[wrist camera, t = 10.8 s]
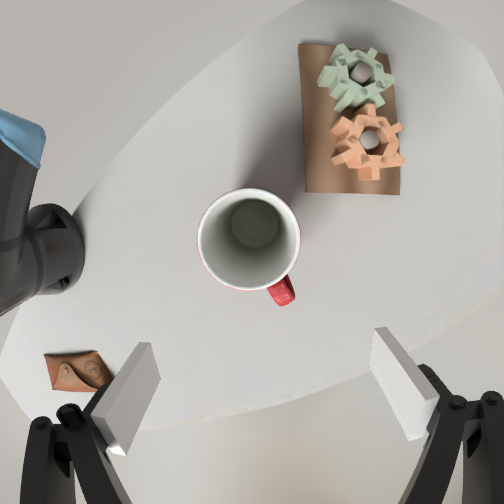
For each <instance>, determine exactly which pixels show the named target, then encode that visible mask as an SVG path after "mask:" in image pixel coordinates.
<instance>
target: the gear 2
mask: <svg viewBox="0 0 504 504" xmlns="http://www.w3.org/2000/svg"><path fill="white" fill-rule="evenodd" d="M354 114H355V117H354V118H353V119H351V120H348V119H347V118H345V117H343V116H342V117H341V118H339V119H338V120H337V121H336V122H335V123H334V124H333V125H332V126H331V128H330V130H329V131H330V132H332V133H333V134H335V135H337V136H338V137H339V138H338V140H337V142H336V144H335V146H336V147H337V149H338V151H339V152H340V153H339V154H338V155H336V156H334V157H332V158H331V160H332V162H333V164H334V165H338V164H341V163H344V162H346V164H347V166H348V168H355V169H358V180H380V172H379V169H380V168H388V167H396V166H403V164H404V162H405V160H406V158H404V157H403V156H402V155H400V154H399V153H397V152H396V151H397V149H398V147H399V145H400V142H399V140H398V138H397V137H396V135H395V134H396V133H398V132H400V131H401V130H403V129H404V128H403V127H402V125H401V123H400V122H398V123H396V124H394V125H391V126H390V124H389V123H388V121H387V119H386V118H385V117H378V116H376V111H375V104H366V105H364V106H363V107H362V108H360V109H359V110H358V111H357V112H355V113H354ZM367 130H372V131H374V132H376V133H377V135H378V137H379V144H378V145H377V146H376V147H374V148H373V150H372V152H371V154H370V155H367V154H366V152H365V150H364V148H363V147H362V145H361V143H360V142H359V140H358V139H359V137H360V135H361V133H363V132H365V131H367Z"/></svg>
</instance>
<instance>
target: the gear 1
mask: <svg viewBox="0 0 504 504" xmlns="http://www.w3.org/2000/svg"><path fill="white" fill-rule="evenodd" d="M377 52H378V51H376V50H375V49H373V48H372V47H371V48H370V49H369V50H368V51H367V53H366V54H365V53H363V52H362V51H360V50H358V49H357V50H355V51H352V52H350V51H349V50H348V48H347V47H346V46H345V45H344V43H342V44H339V45H337V46H336V48H335V50H334V51H333V53H332V55H331V57H330V59H329V62H330V64H331V65H332V66H324V67H323V69H322V71H321V73H320V75H319V77H318V79H317V84H318V87H329V94H330V96H331V97H333V98H335V99H336V100H338V101H337V103H336V105H335V106H334V108H333V109H334V110H336V111H337V112H339V113H340V112H341V111H342V110H343V109H344V108H345V107H347V106H348V107H350V108H351V109H354V108H356V107H358V106H360V107H361V108H362V107H363V106H364V105H366V104H375V110H376V109H377V108H379V107H380V106H382V105H384V104H385V101H384V100H383V98H382V97H381V95H380V93H382V92H383V91H385V90H386V89H387V88H389V87H390V86H391V85H393V84H394V83H395V82H396V80H395V75H392V74H387V73H384V71H383V65H382V64H381V63H379V62H378V61H376V60H375V59H374V58H375V56H376V54H377ZM359 63H365V64H367V65H369V66H370V67H371V69H372V75H371V76H370V77H369V78H368V79H367V80H366V81H365V82H364V83H363V84H362V86H360V85H359V84H357V83H356V82H354V81H352V80H351V79H349V75H348V73H349V74H350V73H351V72H352V71H353V69H354V68H355V67H356V66H357V64H359Z"/></svg>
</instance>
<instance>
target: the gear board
mask: <svg viewBox="0 0 504 504" xmlns="http://www.w3.org/2000/svg"><path fill="white" fill-rule="evenodd" d="M335 48H336V47H334V46H323V45H309V44H299V46H298V56H299V68H300V80H301V95H302V111H303V131H304V157H305V192H306V193H359V194H385V195H400V173H399V166H396V167H388V168H380V169H379V172H380V180H358V169H355V168H348V166H347V164H346V162H344V163H341V164H338V165H334V164H333V162H332V160H331V158H332V157H334V156H336V155H338V154H339V153H340V152H339V151H338V149H337V147H336V146H335V144H336V142H337V140H338V138H339V137H338V136H337V135H335V134H333V133H332V132H330V131H329V130H330V128H331V126H332V125H333V124H334V123H335V122H336V121H337V120H338V119H339V118H341V117H342V116H343V117H345V118H347V119H348V120H351V119H353V118H354V117H355V114H354V113H355V112H357V111H358V110H359V109H360V108H361V107H360V106H358V107H356V108H354V109H351V108H350V107H348V106H347V107H345V108H344V109H343V110H342V111H341V112H340V113H339V112H337V111H336V110H334V109H333V108H334V106H335V105H336V103H337V101H338V100H336V99H335V98H333V97H331V96H330V94H329V87H318V84H317V79H318V77H319V75H320V73H321V71H322V69H323V67H324V66H332V65H331V64H330V62H329V59H330V57H331V55H332V53H333V51H334V50H335ZM348 50H349V51H350V52H352V51H355V50H357V49H351V48H348ZM360 51H362V52H363V53H365V54H366V53H367V51H364V50H360ZM374 59H375V60H376V61H378V62H379V63H381V64H382V65H383V71H384V73H387V74H391V72H390V66H389V61H388V55H387V54H382V53H377V54H376V56H375V58H374ZM348 75H349V79H351V80H352V81H354V82H356V83H357V84H359V85H360V86H362V84H363V83H364V82H365V81H366V80H367V79H368V78H369V77H370V76H371V75H372V69H371V67H370V66H369V65H367V64H365V63H359V64H357V66H356V67H355V68H354V69H353V71H352V72H351V73H350V74H349V73H348ZM380 95H381V97H382V98H383V100H384V101H385V104H384V105H382V106H380V107H379V108H377V109H376V110H375V111H376V116H378V117H385V118H386V119H387V121H388V123H389V124H390V126H391V125H394V124H396V123H397V119H396V109H395V101H394V93H393V85H391V86H390V87H389V88H387V89H386V90H385V91H383V92H382V93H380ZM395 135H396V137H397V138H398V133H396V134H395ZM358 140H359V142H360V143H361V145H362V147H363V148H364V150H365V152H366V154H367V155H370V154H371V152H372V150H373V148H374V147H376V146H377V145H378V144H379V137H378V135H377V133H376V132H374V131H372V130H367V131H365V132H363V133H361V135H360V137H359V139H358ZM396 152H397V153H399V147H398V149H397V151H396Z"/></svg>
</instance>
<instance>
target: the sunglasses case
mask: <svg viewBox="0 0 504 504" xmlns="http://www.w3.org/2000/svg"><path fill="white" fill-rule="evenodd" d="M44 357H45V359H46V363H47V368H48V372H49V376H50V380H51V384H52V387H53V388H52V390H61V391H71V392H96V391H97V390H98V388H100V387H101V386H102V385H104V384H105V383H107V384H111V383H112V381H113V380H114V379H113V377H112V376H111V374H110V372H109V371H108V369H107V367H106V365H105V364H104V362H103V360H102V359H101V357H100V355H99V354H98V351H91V352H88V353H84V354H76V355H60V356H58V355H57V356H53V355H44Z"/></svg>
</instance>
